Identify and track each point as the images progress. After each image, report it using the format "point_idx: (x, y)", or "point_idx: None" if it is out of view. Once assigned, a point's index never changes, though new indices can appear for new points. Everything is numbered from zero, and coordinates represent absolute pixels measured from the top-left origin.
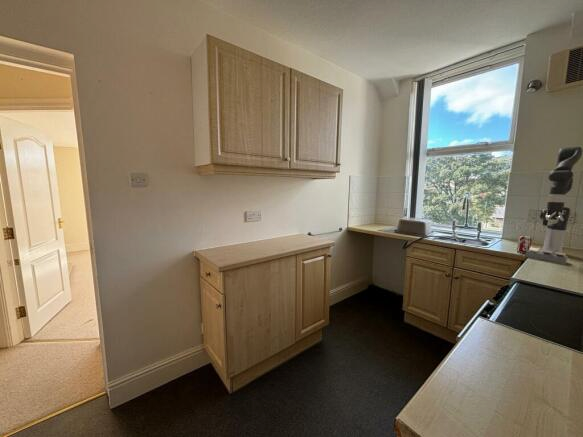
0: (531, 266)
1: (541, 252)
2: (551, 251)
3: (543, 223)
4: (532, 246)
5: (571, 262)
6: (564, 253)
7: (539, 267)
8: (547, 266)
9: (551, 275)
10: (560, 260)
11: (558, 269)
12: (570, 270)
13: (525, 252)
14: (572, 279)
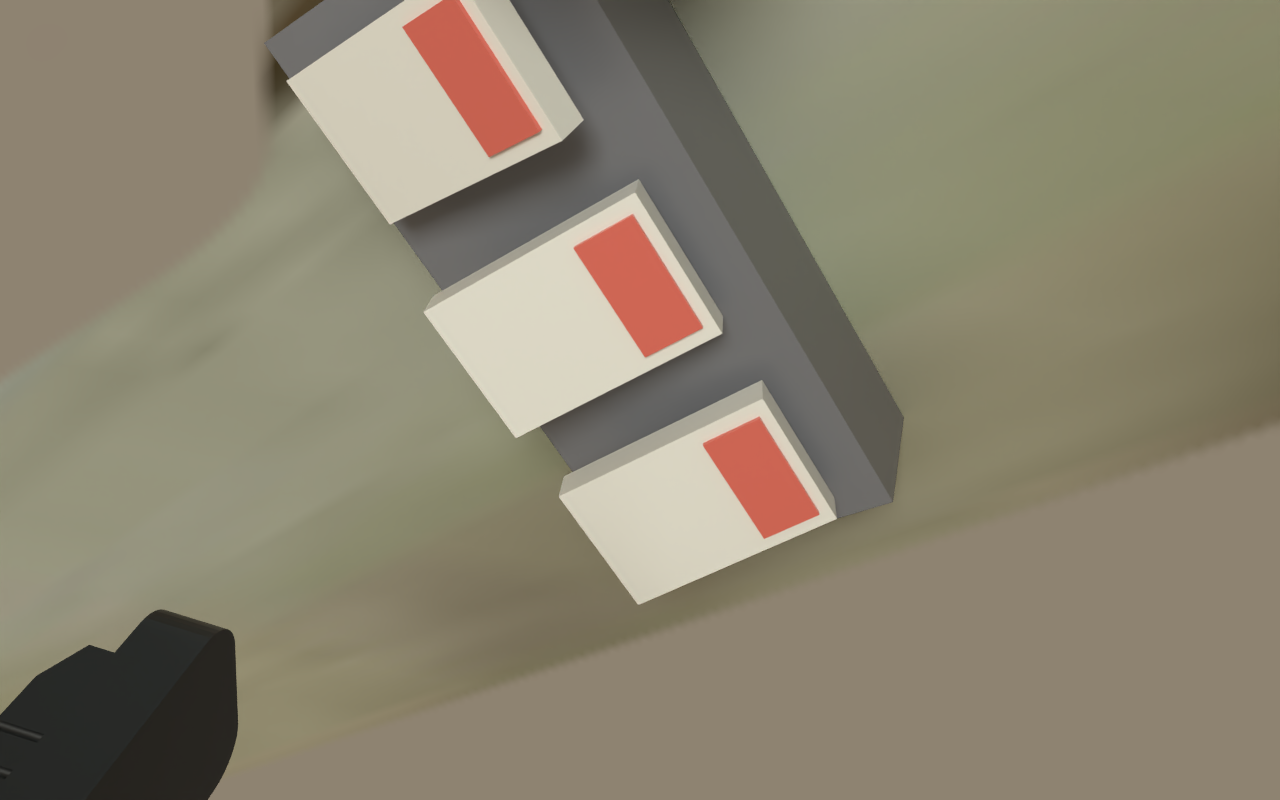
0: (41, 434)
1: (576, 182)
2: (599, 394)
3: (43, 729)
4: (457, 5)
5: (1018, 435)
6: (761, 536)
7: (124, 482)
8: (281, 480)
9: (59, 659)
10: None
11: (327, 582)
12: (461, 639)
13: None
14: None
